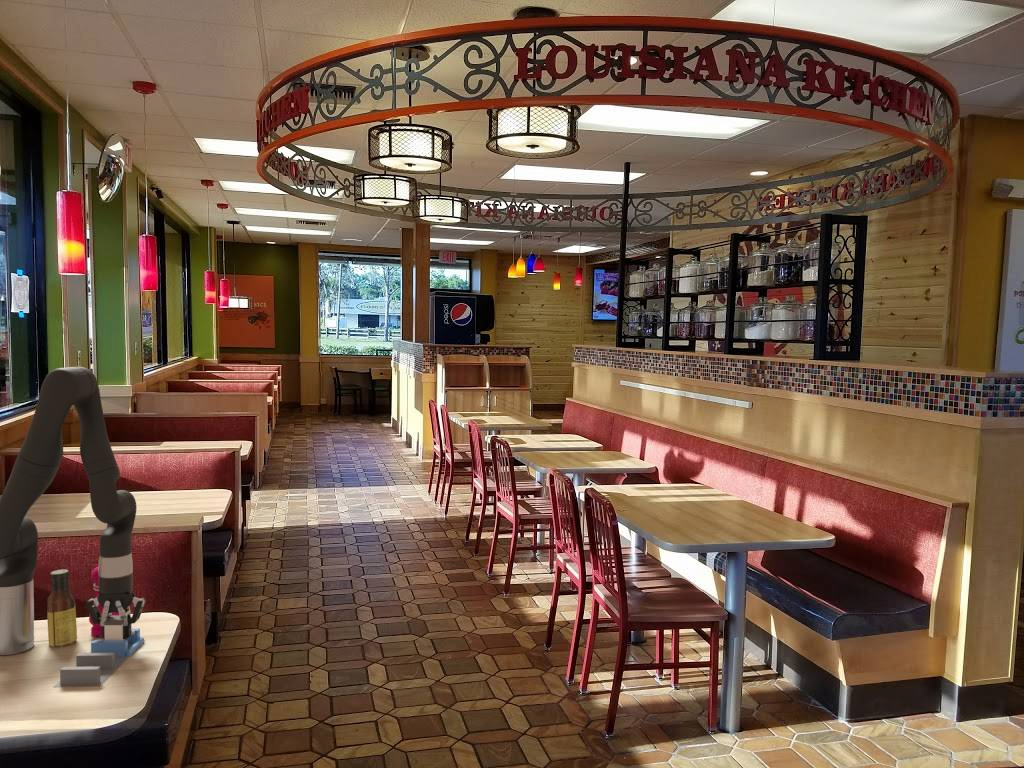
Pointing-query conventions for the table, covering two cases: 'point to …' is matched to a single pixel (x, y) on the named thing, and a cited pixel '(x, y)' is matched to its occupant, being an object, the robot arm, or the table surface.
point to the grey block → (113, 628)
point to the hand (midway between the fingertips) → (116, 638)
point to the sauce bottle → (61, 611)
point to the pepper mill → (97, 627)
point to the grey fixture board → (100, 661)
